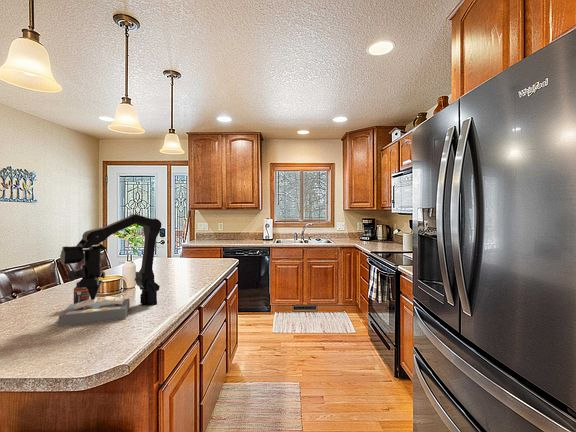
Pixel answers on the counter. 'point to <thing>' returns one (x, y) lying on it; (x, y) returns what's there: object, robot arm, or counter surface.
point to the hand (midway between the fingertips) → (92, 299)
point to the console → (94, 313)
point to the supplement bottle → (80, 294)
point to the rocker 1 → (85, 303)
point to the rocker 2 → (113, 300)
